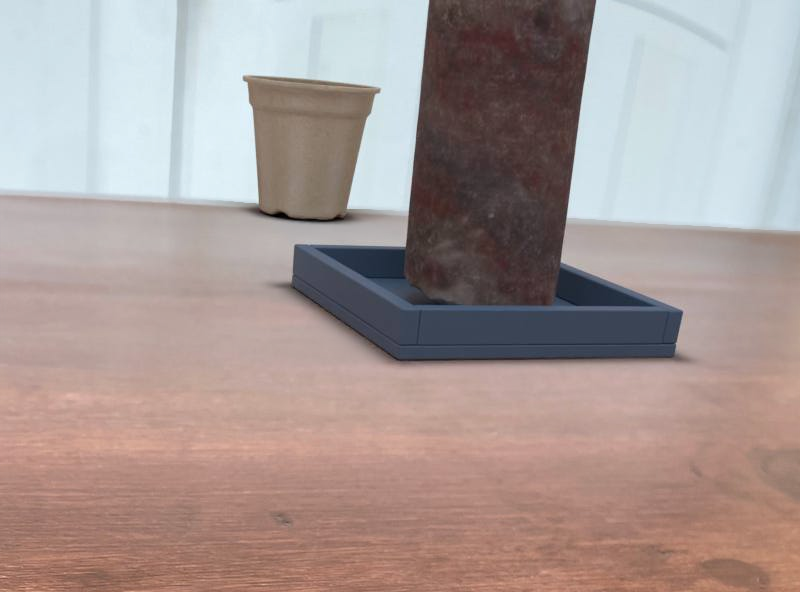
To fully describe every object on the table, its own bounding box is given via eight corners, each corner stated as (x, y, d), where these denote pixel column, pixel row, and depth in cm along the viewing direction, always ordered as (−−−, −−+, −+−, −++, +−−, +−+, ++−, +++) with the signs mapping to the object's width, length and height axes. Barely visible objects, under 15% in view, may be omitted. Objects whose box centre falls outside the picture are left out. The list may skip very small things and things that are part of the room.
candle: (366, 301, 56) (414, -209, 47) (442, 284, 62) (498, -177, 53) (510, 333, 53) (592, -214, 44) (577, 311, 58) (663, -178, 49)
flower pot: (313, 202, 91) (322, 77, 87) (395, 223, 84) (409, 89, 80) (211, 205, 85) (215, 72, 81) (290, 227, 79) (299, 84, 75)
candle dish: (524, 288, 66) (529, 249, 65) (674, 357, 54) (684, 310, 53) (291, 285, 61) (293, 243, 60) (397, 360, 49) (403, 308, 48)
